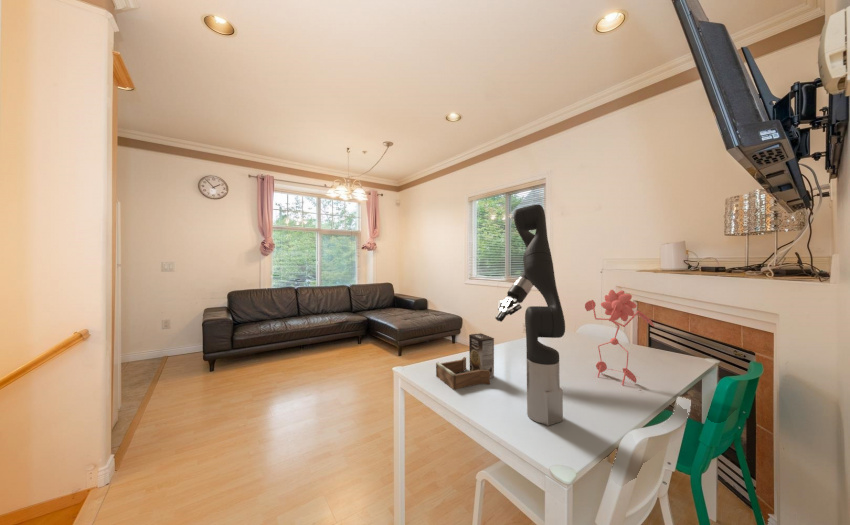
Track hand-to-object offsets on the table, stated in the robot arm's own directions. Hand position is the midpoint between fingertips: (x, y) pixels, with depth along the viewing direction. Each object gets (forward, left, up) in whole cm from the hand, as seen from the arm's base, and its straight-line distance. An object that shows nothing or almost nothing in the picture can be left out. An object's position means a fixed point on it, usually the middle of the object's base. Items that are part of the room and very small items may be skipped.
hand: (498, 319), depth 125 cm
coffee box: (0, +9, -22) cm, 24 cm away
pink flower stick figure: (-27, -38, -22) cm, 52 cm away
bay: (0, +19, -22) cm, 29 cm away
